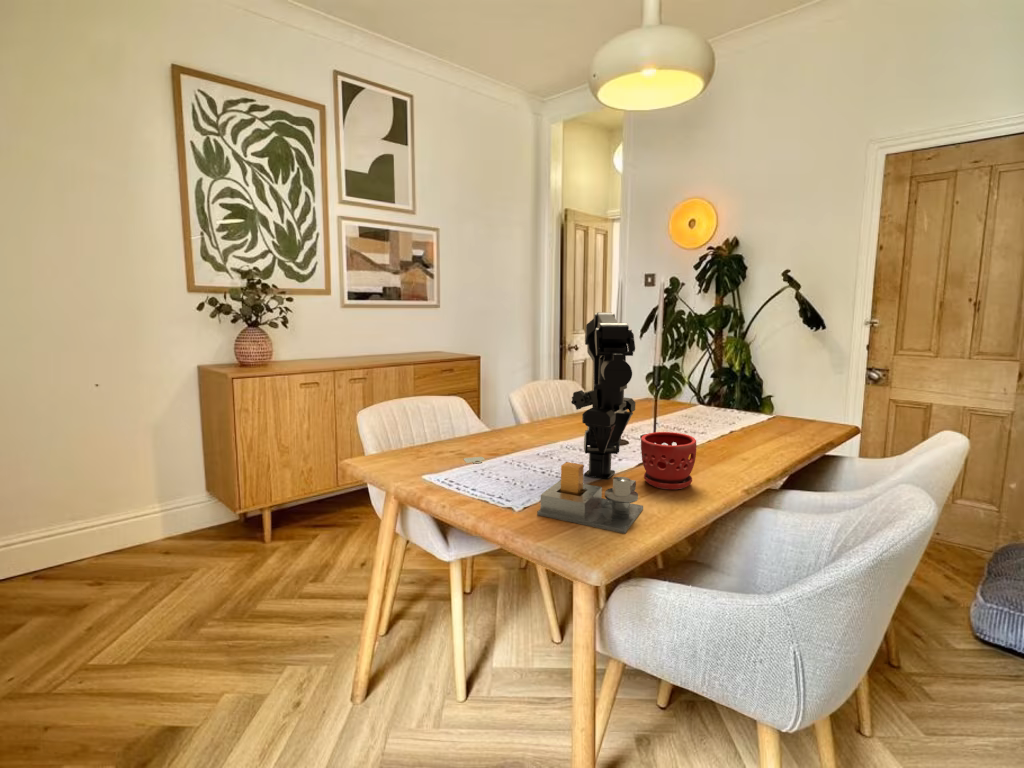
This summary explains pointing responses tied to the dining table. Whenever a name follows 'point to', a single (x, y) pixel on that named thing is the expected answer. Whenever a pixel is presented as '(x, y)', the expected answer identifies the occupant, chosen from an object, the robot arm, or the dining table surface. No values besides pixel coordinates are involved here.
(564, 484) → the rectangular wooden peg
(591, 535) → the dining table surface
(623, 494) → the grey metal frame fixture
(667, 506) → the dining table surface
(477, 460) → the mounting bracket
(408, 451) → the dining table surface
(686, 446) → the plant pot
